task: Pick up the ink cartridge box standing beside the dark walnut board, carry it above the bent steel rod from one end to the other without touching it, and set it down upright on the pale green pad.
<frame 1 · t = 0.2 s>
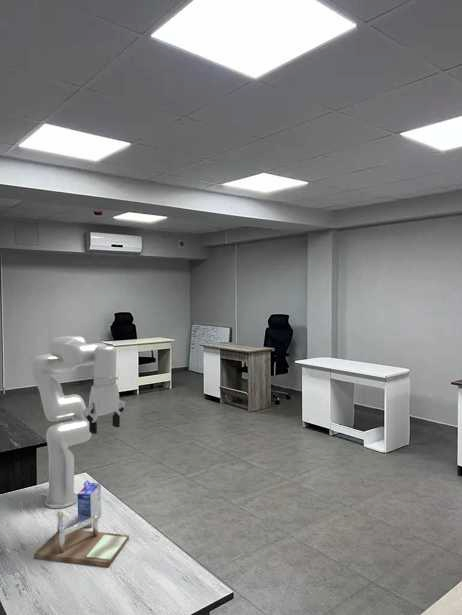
hand: (104, 429, 161), 36 cm above the table, tool pointing down, fingers open, 9 cm apart
board: (83, 548, 151), on the table
bent wire: (69, 532, 152), point 5 cm above the table
ink cartridge box: (89, 521, 170), on the table
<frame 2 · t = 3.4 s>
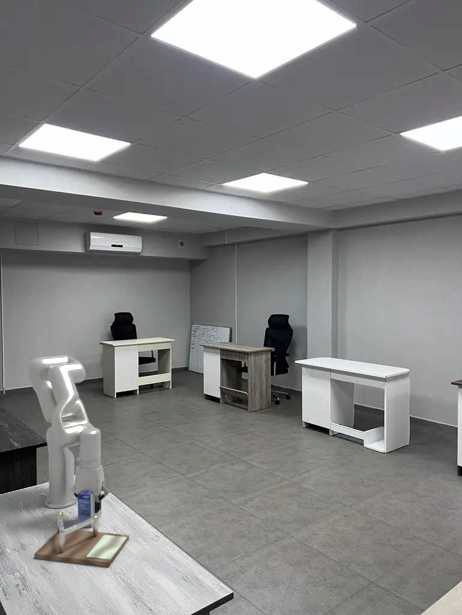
hand: (89, 510, 170), 4 cm above the table, tool pointing down, fingers closed on ink cartridge box, 5 cm apart
ink cartridge box: (89, 521, 170), on the table, touching gripper
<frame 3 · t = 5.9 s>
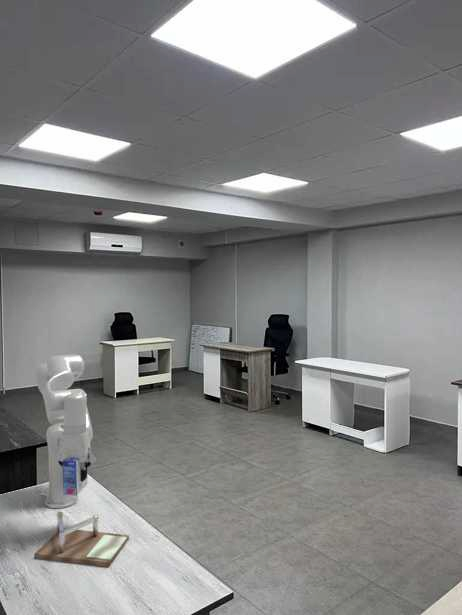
hand: (75, 479, 163), 18 cm above the table, tool pointing down, fingers closed on ink cartridge box, 5 cm apart
ink cartridge box: (75, 490, 163), point 14 cm above the table, touching gripper
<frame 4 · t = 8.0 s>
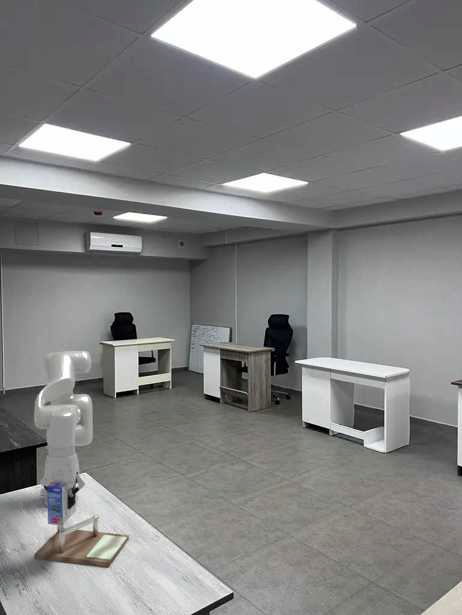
hand: (62, 505, 146), 16 cm above the table, tool pointing down, fingers closed on ink cartridge box, 5 cm apart
ink cartridge box: (62, 518, 147), point 12 cm above the table, touching gripper
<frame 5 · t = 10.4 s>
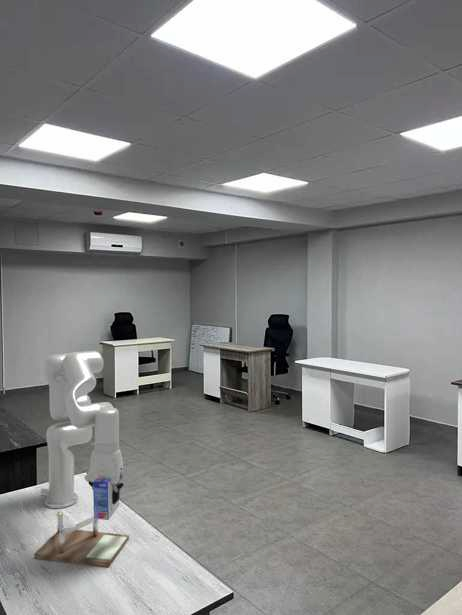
hand: (106, 500, 150), 17 cm above the table, tool pointing down, fingers closed on ink cartridge box, 5 cm apart
ink cartridge box: (106, 513, 150), point 13 cm above the table, touching gripper
when the fingers open (7 cm above the table, at t = 12.7 s): ink cartridge box drops 1 cm, resting on board.
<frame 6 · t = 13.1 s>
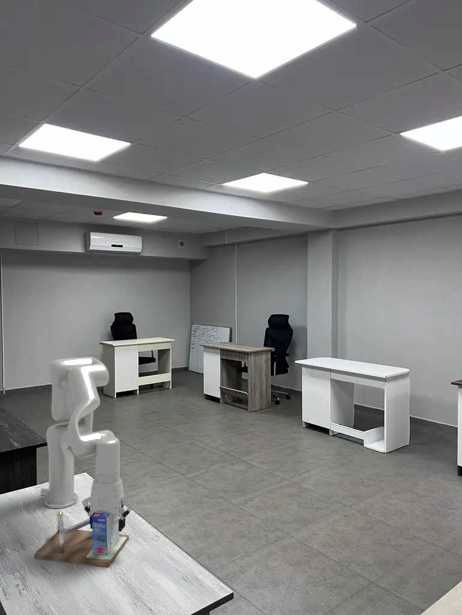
hand: (107, 528, 149), 8 cm above the table, tool pointing down, fingers open, 9 cm apart
ink cartridge box: (106, 546, 150), point 2 cm above the table, touching board
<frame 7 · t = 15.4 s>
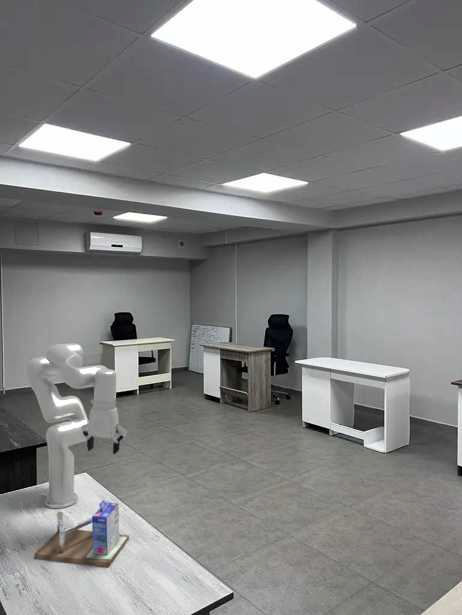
hand: (103, 451, 165), 27 cm above the table, tool pointing down, fingers open, 9 cm apart
nothing on the table moved.
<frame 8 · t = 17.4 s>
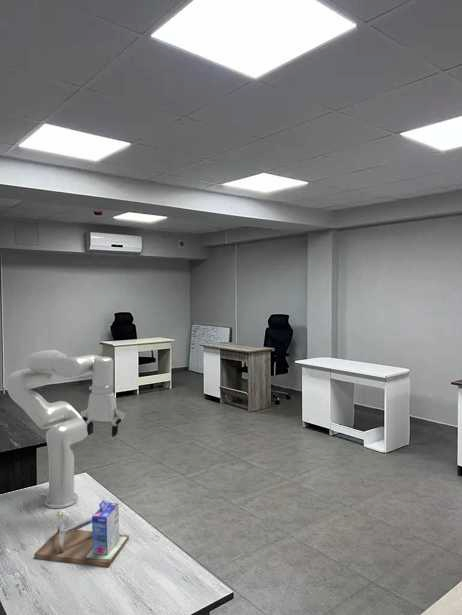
hand: (102, 434, 174), 30 cm above the table, tool pointing down, fingers open, 9 cm apart
nothing on the table moved.
at the end: ink cartridge box 0.5 cm from the target spot on the board, point 1.7 cm above the board's base; ink cartridge box tilted 0°; ink cartridge box touching board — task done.
